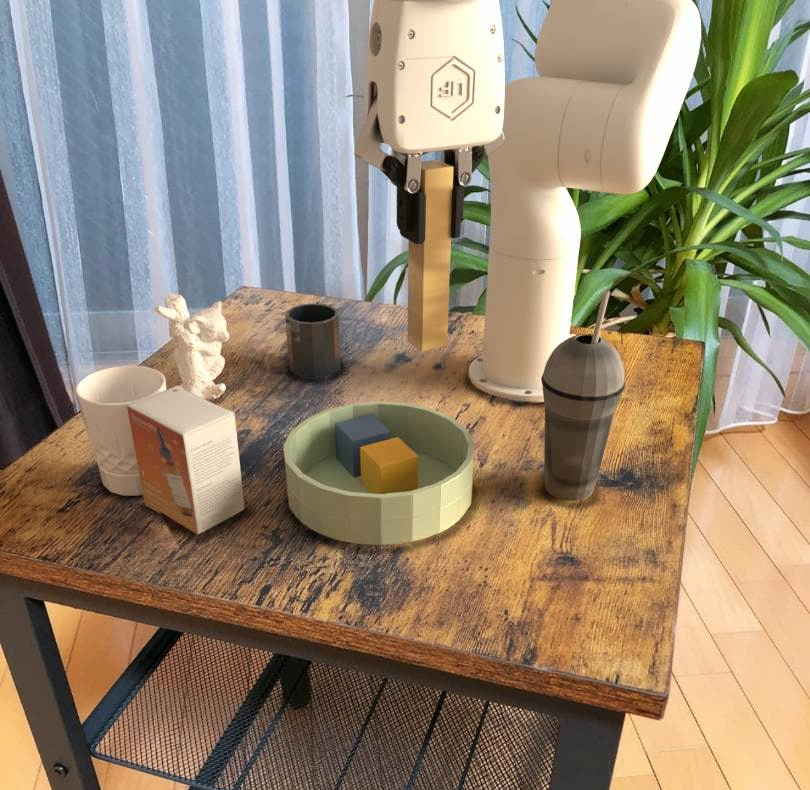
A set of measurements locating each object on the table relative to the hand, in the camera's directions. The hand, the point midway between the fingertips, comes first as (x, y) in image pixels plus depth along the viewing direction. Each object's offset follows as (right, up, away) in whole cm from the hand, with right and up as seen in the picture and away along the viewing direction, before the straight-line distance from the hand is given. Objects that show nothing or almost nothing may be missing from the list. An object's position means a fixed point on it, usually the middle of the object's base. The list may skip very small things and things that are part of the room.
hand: (429, 234), depth 75 cm
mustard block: (-3, -20, +11) cm, 23 cm away
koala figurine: (-25, -9, +28) cm, 38 cm away
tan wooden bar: (0, -8, +6) cm, 10 cm away
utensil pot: (-13, -5, +33) cm, 36 cm away
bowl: (-4, -21, +11) cm, 24 cm away
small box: (-21, -22, +9) cm, 32 cm away
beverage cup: (+14, -21, +12) cm, 27 cm away
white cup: (-28, -19, +14) cm, 36 cm away
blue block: (-6, -17, +15) cm, 24 cm away
